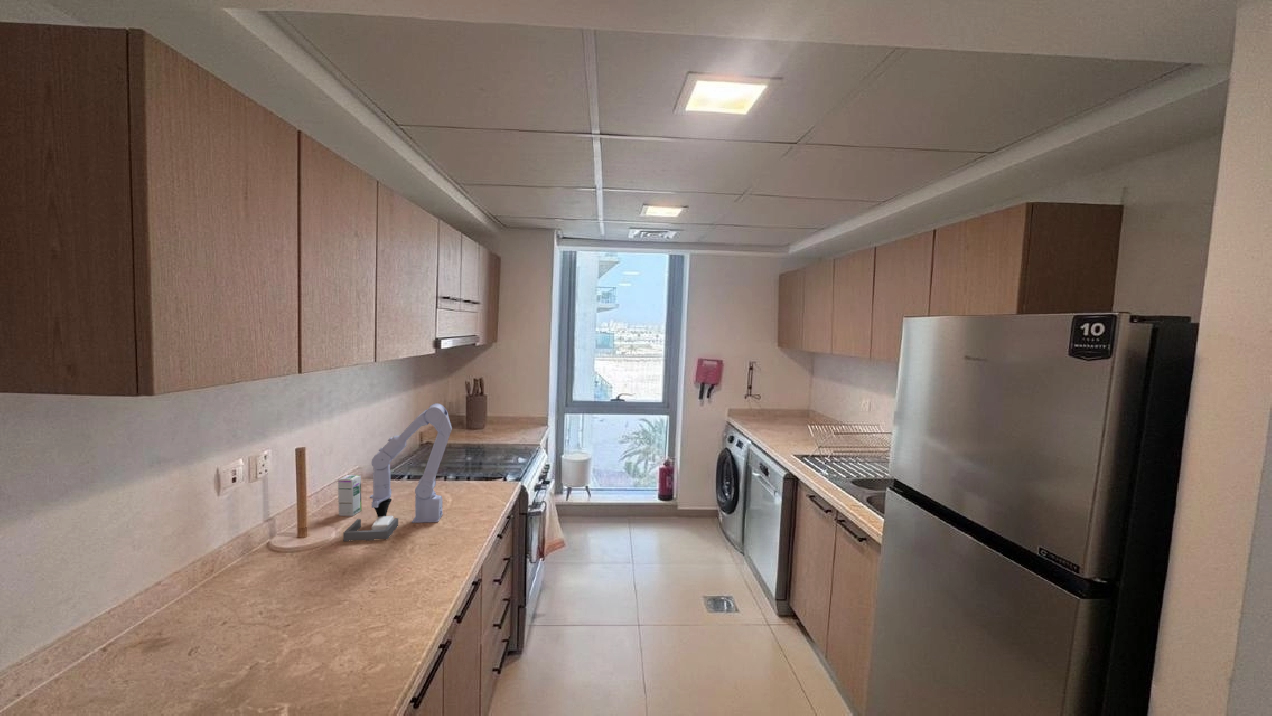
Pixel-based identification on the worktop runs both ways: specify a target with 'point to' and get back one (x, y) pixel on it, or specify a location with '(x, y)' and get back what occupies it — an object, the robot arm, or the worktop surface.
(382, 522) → the soap
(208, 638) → the worktop surface
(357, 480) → the syrup box
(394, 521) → the box
